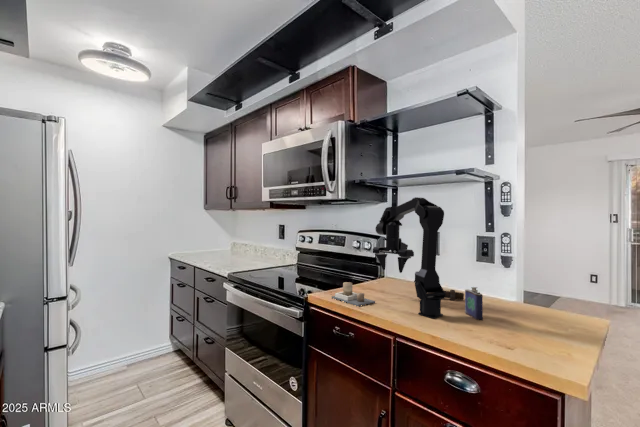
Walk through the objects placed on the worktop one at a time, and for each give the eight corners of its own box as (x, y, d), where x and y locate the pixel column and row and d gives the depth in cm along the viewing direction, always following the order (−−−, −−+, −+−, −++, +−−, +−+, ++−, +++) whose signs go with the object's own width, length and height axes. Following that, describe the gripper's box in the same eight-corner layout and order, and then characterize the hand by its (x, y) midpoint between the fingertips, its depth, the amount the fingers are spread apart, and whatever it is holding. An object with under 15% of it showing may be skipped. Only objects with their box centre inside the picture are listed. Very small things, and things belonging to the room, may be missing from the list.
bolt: (463, 305, 135) (426, 300, 140) (462, 297, 139) (427, 293, 144) (464, 295, 132) (427, 290, 137) (463, 287, 137) (427, 283, 141)
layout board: (375, 303, 128) (375, 293, 128) (357, 306, 122) (358, 297, 122) (348, 295, 141) (348, 286, 141) (331, 298, 135) (331, 289, 135)
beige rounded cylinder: (354, 297, 134) (354, 283, 134) (347, 298, 131) (347, 284, 131) (347, 295, 137) (347, 281, 137) (341, 296, 134) (341, 283, 134)
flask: (463, 312, 117) (463, 284, 117) (471, 312, 117) (471, 284, 117) (477, 320, 108) (477, 289, 108) (485, 320, 108) (485, 289, 108)
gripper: (421, 236, 135) (421, 272, 135) (387, 234, 150) (387, 267, 149) (406, 237, 128) (405, 275, 128) (372, 234, 143) (371, 269, 142)
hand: (392, 271), depth 137 cm, fingers open, 9 cm apart
